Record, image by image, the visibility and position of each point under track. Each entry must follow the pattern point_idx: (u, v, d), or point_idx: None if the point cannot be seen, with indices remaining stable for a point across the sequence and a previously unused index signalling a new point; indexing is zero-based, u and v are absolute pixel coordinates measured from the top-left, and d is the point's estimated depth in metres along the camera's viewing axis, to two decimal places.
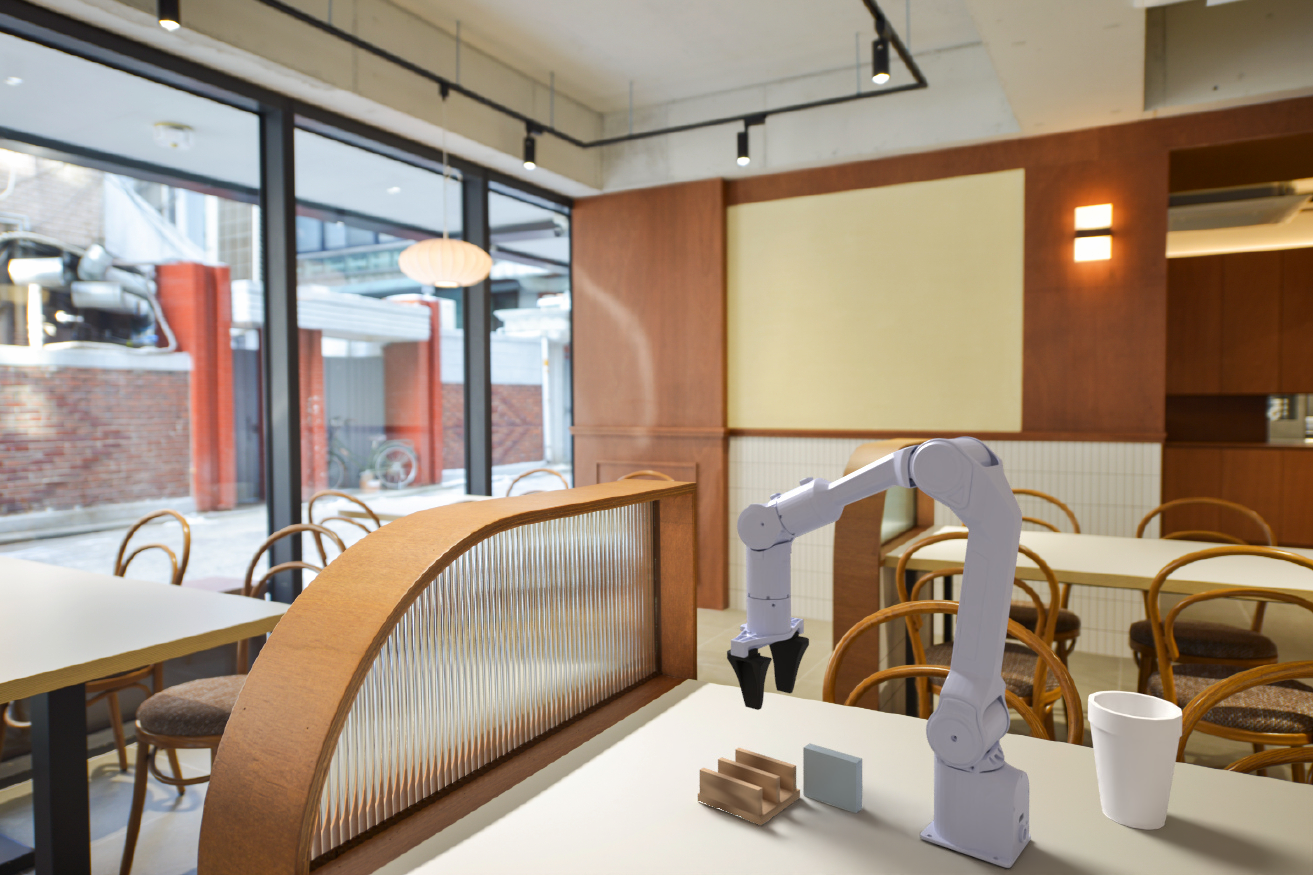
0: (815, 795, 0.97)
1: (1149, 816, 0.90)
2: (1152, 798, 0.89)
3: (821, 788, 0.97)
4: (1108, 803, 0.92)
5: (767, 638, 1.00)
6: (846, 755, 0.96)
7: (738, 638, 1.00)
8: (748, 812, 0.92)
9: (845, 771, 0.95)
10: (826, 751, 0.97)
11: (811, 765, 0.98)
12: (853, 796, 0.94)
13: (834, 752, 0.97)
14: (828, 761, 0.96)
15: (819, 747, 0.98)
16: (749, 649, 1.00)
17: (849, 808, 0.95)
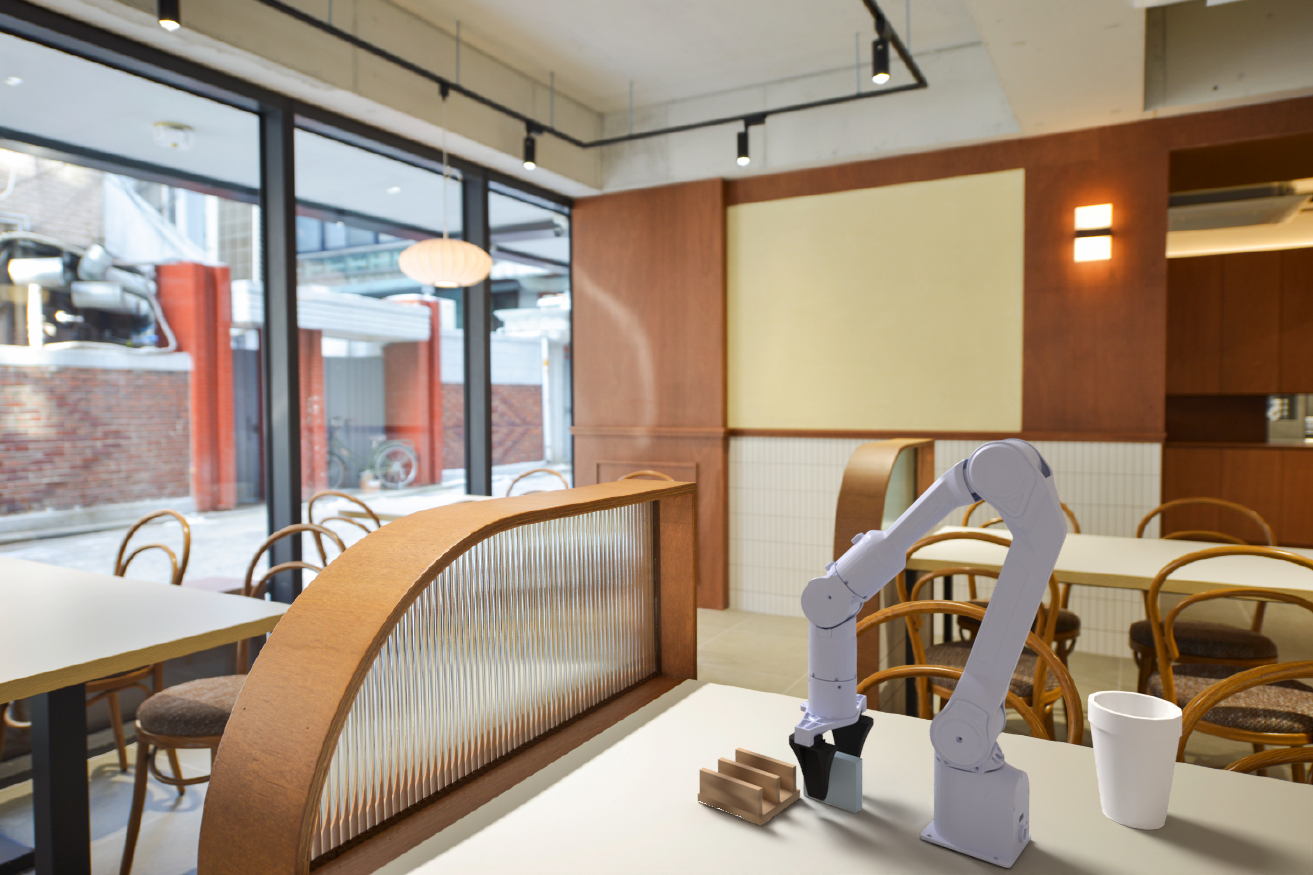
0: None
1: (1149, 816, 0.90)
2: (1152, 798, 0.89)
3: None
4: (1108, 803, 0.92)
5: (833, 724, 0.93)
6: (846, 755, 0.96)
7: (802, 723, 0.93)
8: (748, 812, 0.92)
9: (845, 771, 0.95)
10: None
11: None
12: (853, 796, 0.94)
13: None
14: None
15: None
16: (814, 736, 0.93)
17: (849, 808, 0.95)
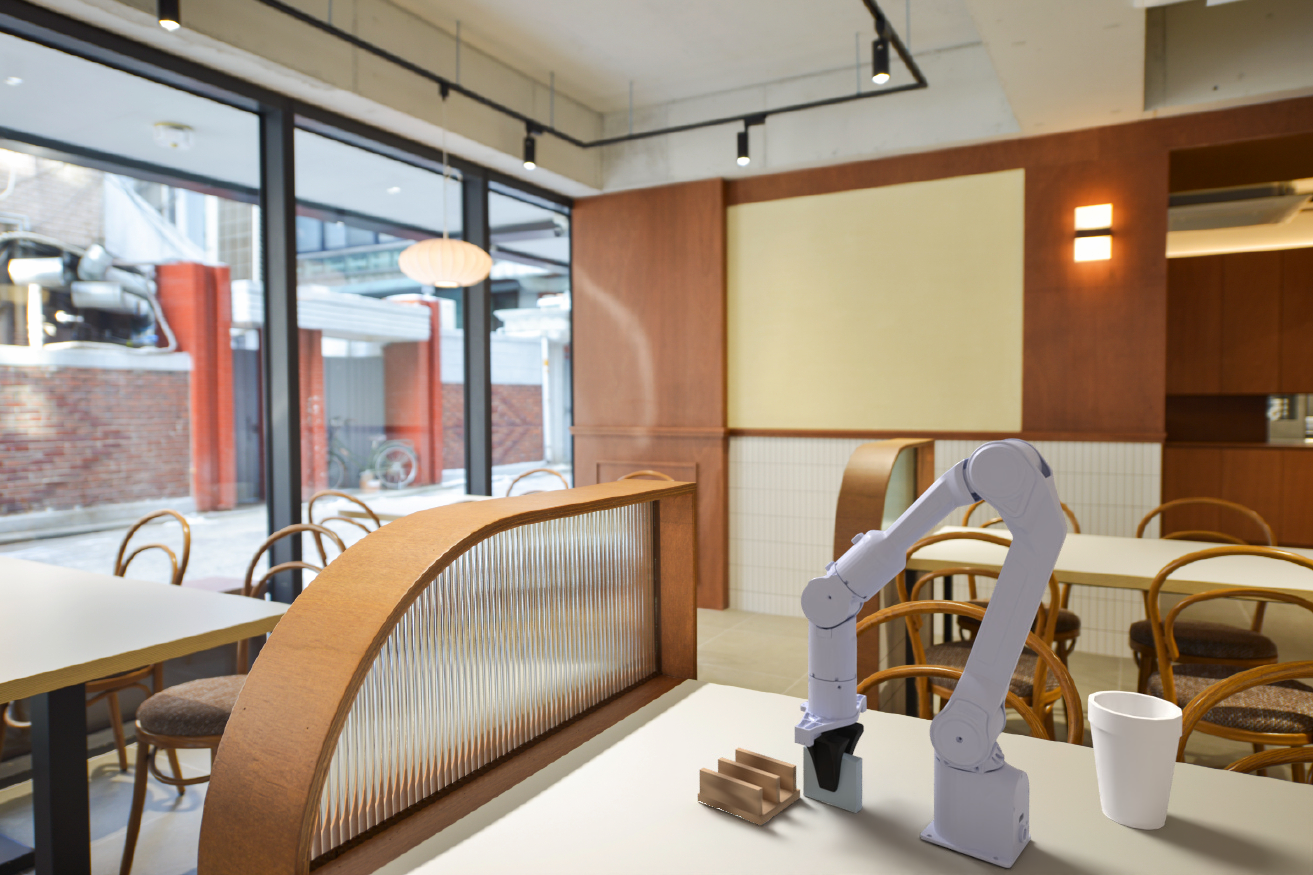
0: (815, 794, 0.97)
1: (1149, 816, 0.90)
2: (1152, 798, 0.89)
3: None
4: (1108, 803, 0.92)
5: (833, 724, 0.93)
6: (846, 754, 0.96)
7: (802, 723, 0.93)
8: (748, 812, 0.92)
9: (845, 771, 0.95)
10: None
11: (811, 764, 0.98)
12: (853, 795, 0.94)
13: None
14: None
15: None
16: (814, 736, 0.93)
17: (849, 807, 0.95)
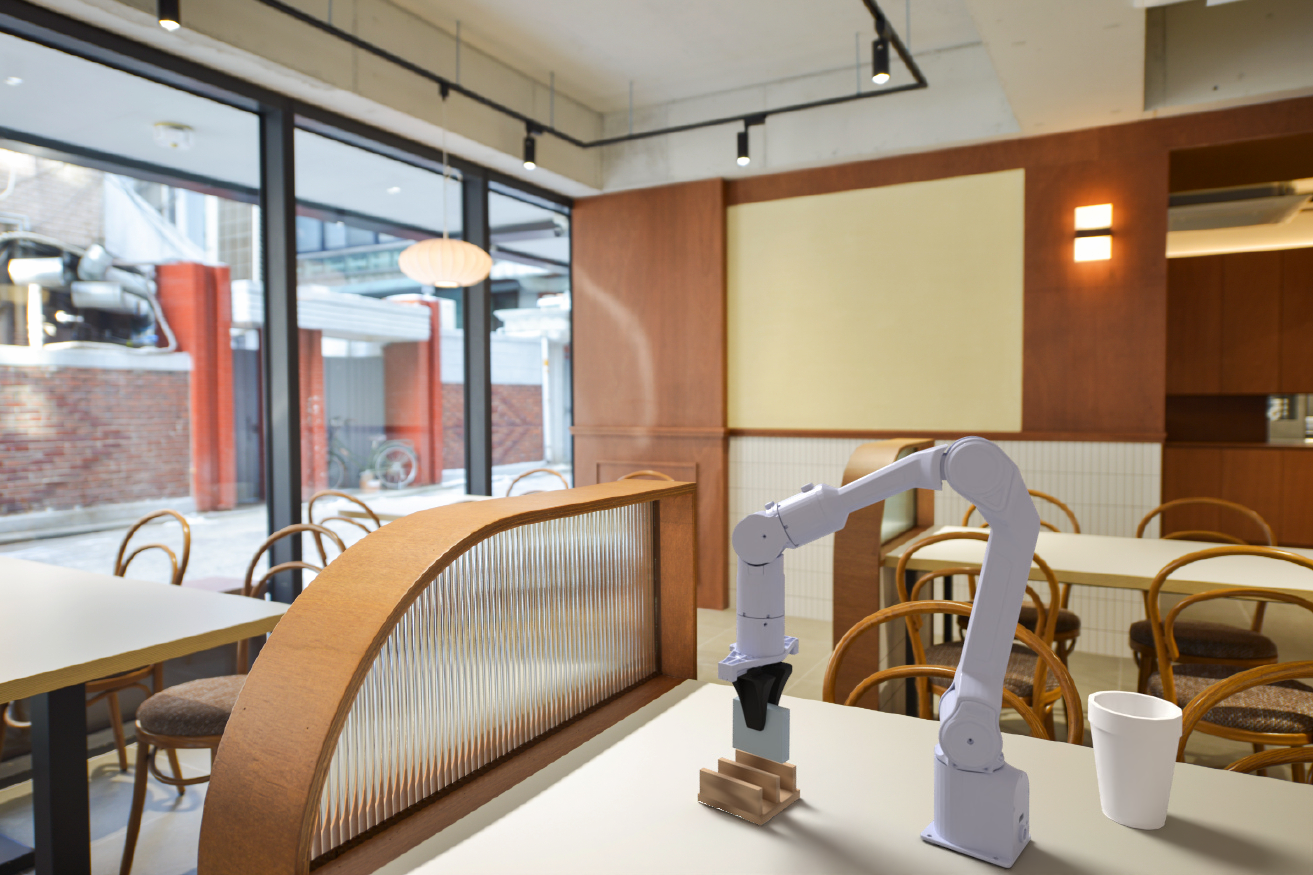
0: (743, 746, 0.97)
1: (1149, 816, 0.90)
2: (1152, 798, 0.89)
3: (749, 739, 0.96)
4: (1108, 803, 0.92)
5: (758, 661, 0.92)
6: (774, 706, 0.95)
7: (726, 660, 0.92)
8: (748, 812, 0.92)
9: (772, 722, 0.94)
10: None
11: (740, 716, 0.97)
12: (779, 746, 0.93)
13: None
14: None
15: None
16: (738, 672, 0.92)
17: (775, 758, 0.94)
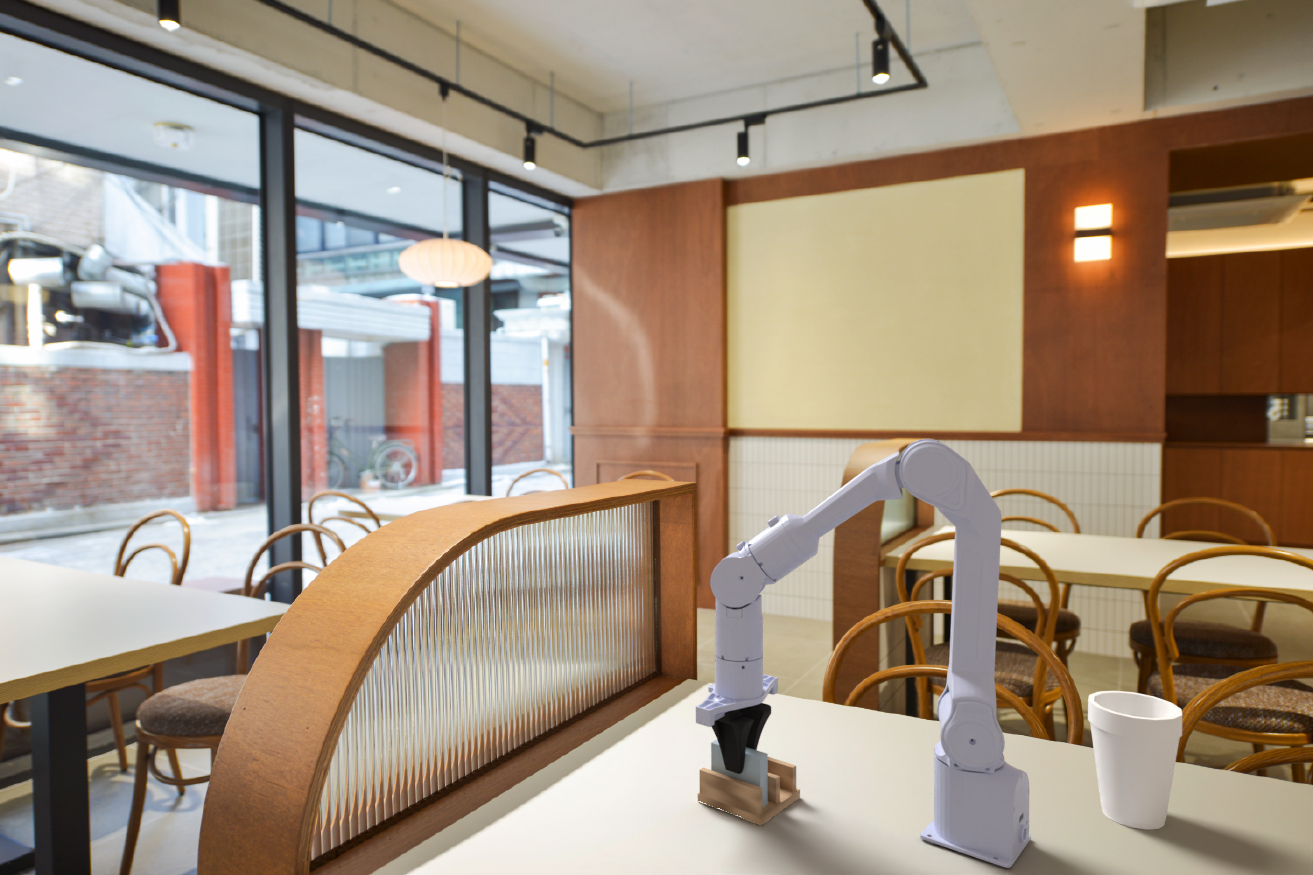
0: None
1: (1149, 816, 0.90)
2: (1152, 798, 0.89)
3: None
4: (1108, 803, 0.92)
5: (736, 704, 0.92)
6: (752, 750, 0.95)
7: (704, 704, 0.92)
8: (748, 812, 0.92)
9: (750, 767, 0.94)
10: None
11: (718, 760, 0.97)
12: None
13: None
14: None
15: None
16: (716, 716, 0.91)
17: None
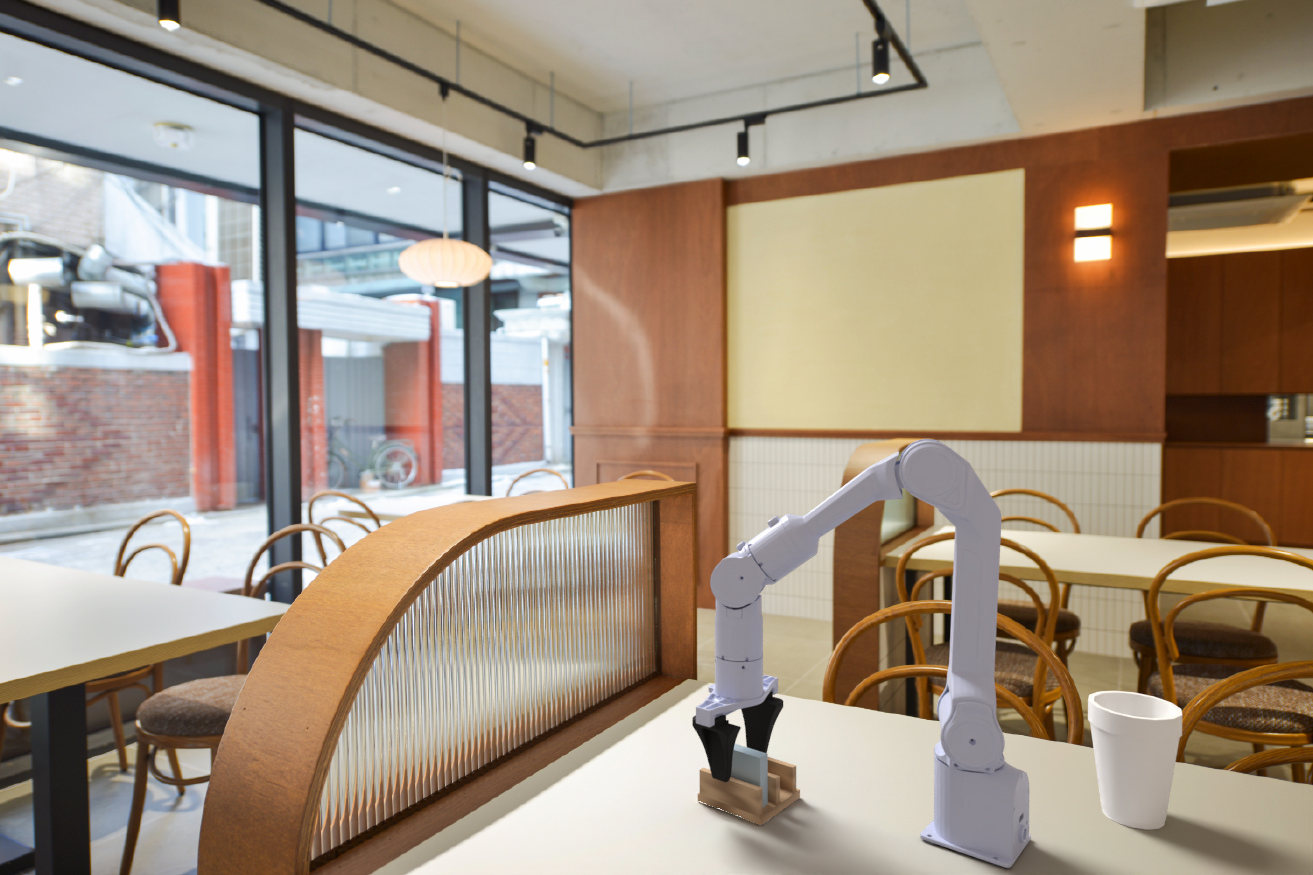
0: None
1: (1149, 816, 0.90)
2: (1152, 798, 0.89)
3: None
4: (1108, 803, 0.92)
5: (736, 704, 0.92)
6: (752, 750, 0.95)
7: (704, 704, 0.92)
8: (748, 812, 0.92)
9: (750, 767, 0.94)
10: None
11: None
12: None
13: (741, 747, 0.96)
14: (734, 756, 0.95)
15: None
16: (716, 716, 0.91)
17: None
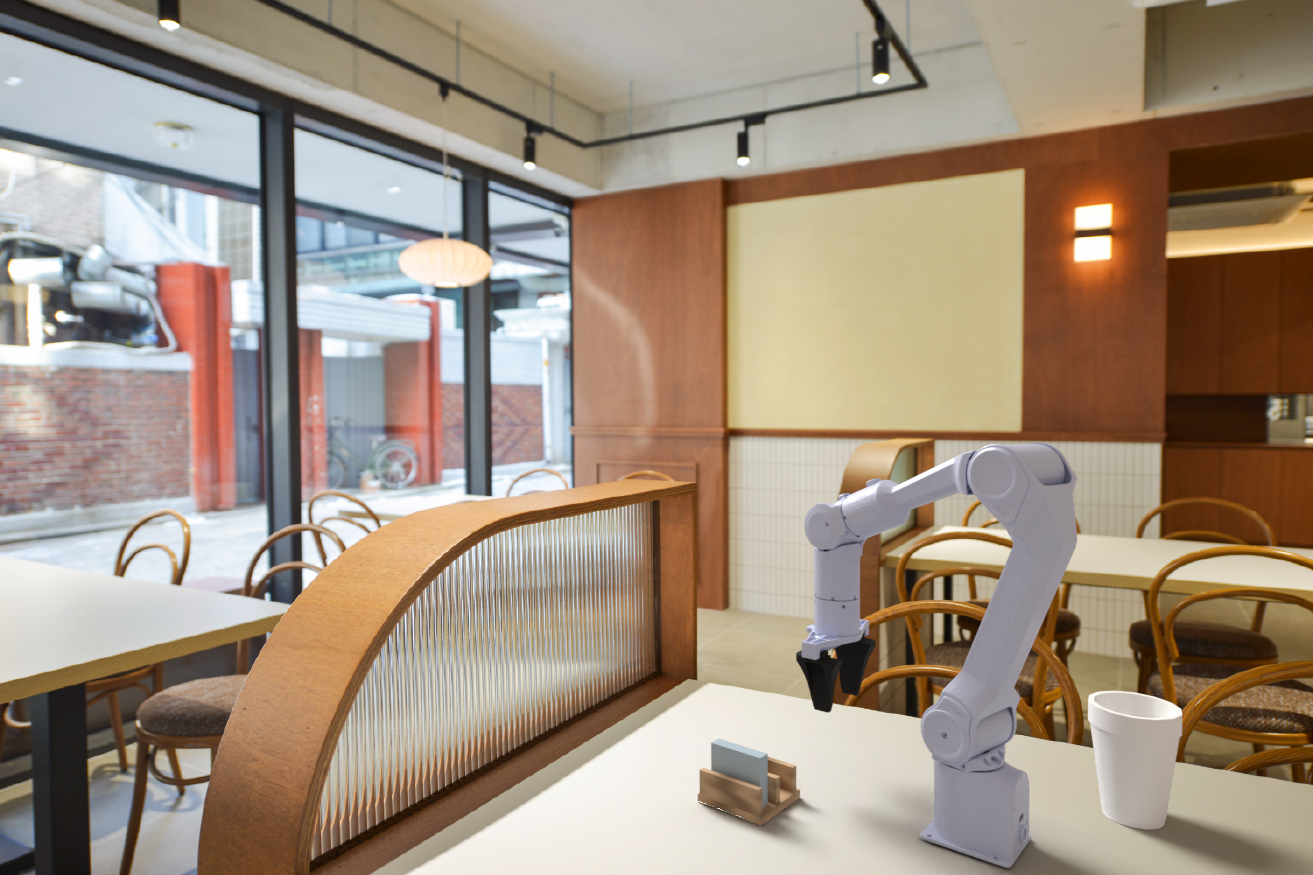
0: None
1: (1149, 816, 0.90)
2: (1152, 798, 0.89)
3: None
4: (1108, 803, 0.92)
5: (838, 640, 0.99)
6: (752, 750, 0.95)
7: (808, 640, 0.99)
8: (748, 812, 0.92)
9: (750, 767, 0.94)
10: (733, 746, 0.96)
11: (718, 760, 0.97)
12: None
13: (741, 747, 0.96)
14: (734, 756, 0.95)
15: (727, 742, 0.97)
16: (820, 651, 0.98)
17: None
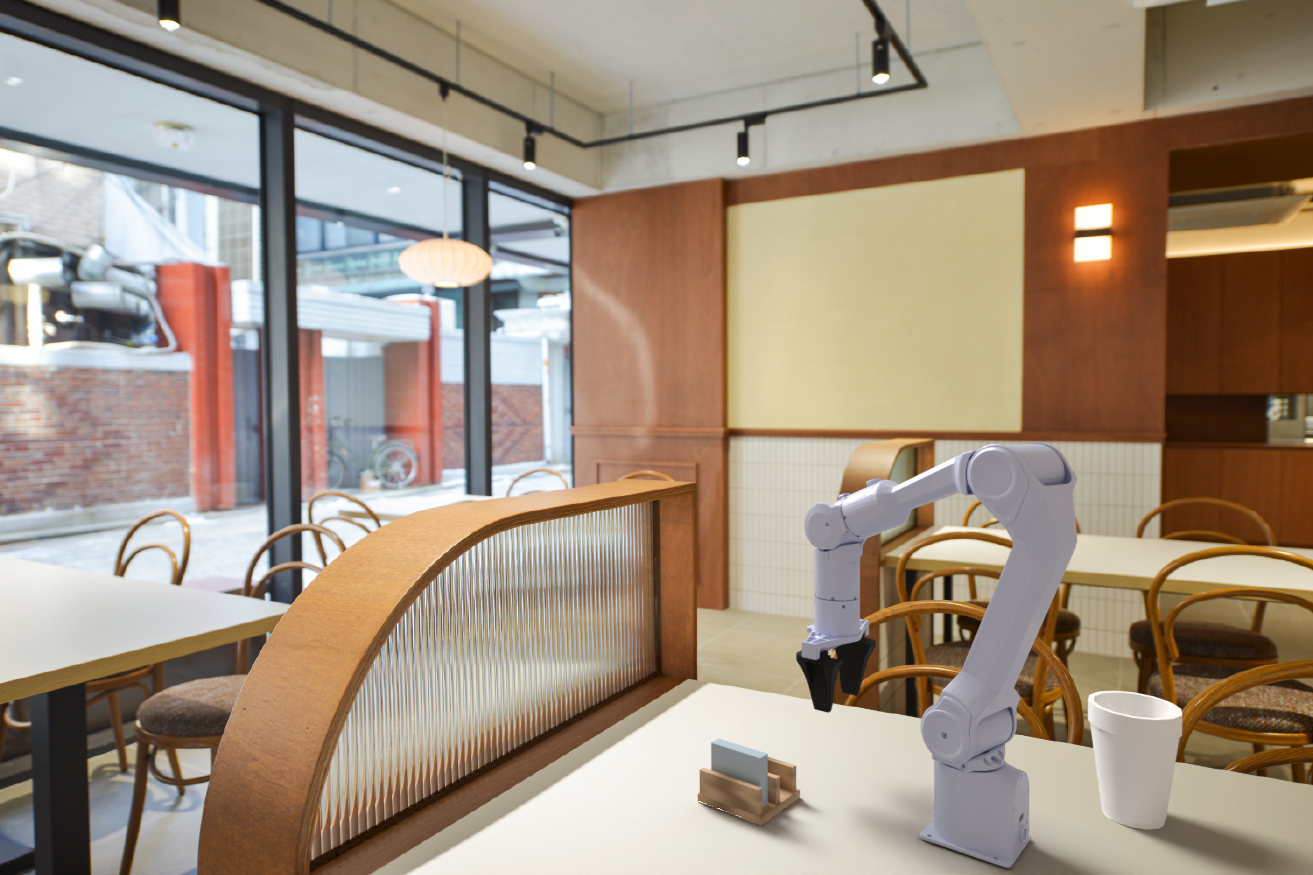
0: None
1: (1149, 816, 0.90)
2: (1152, 798, 0.89)
3: None
4: (1108, 803, 0.92)
5: (838, 640, 0.99)
6: (752, 750, 0.95)
7: (808, 640, 0.99)
8: (748, 812, 0.92)
9: (750, 767, 0.94)
10: (733, 746, 0.96)
11: (718, 760, 0.97)
12: None
13: (741, 747, 0.96)
14: (734, 756, 0.95)
15: (727, 742, 0.97)
16: (820, 651, 0.98)
17: None
